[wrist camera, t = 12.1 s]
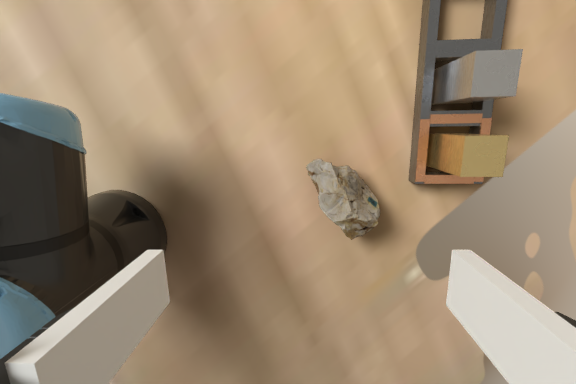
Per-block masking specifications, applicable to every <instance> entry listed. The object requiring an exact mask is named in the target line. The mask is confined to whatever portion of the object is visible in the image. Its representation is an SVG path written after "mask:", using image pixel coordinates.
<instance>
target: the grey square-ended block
mask: <svg viewBox="0 0 576 384" xmlns="http://www.w3.org/2000/svg"><path fill="white" fill-rule="evenodd" d="M522 51H523V49H515V50H485V51H474V52H472V53H470V54H468V55H466V56H463V57H461V58H459V59H457V60H455V61H452V62H450V63H448V64H446V65H444V66H442V67H439V68H437V69H435V70H434V79H433V90H432V101H431V104H466V103H473V102H479V101H486V100H493V99H500V98H506V97H513V96H516V90H517V84H518V77H519V70H520V64H521V57H522Z"/></svg>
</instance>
